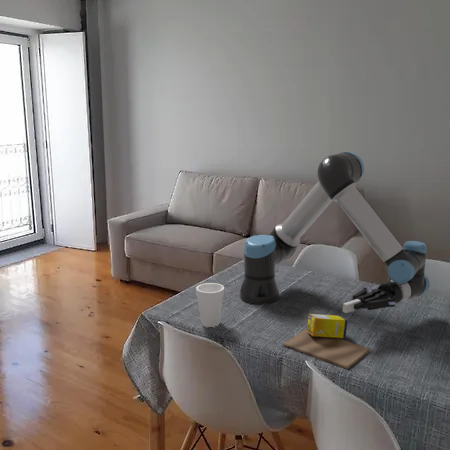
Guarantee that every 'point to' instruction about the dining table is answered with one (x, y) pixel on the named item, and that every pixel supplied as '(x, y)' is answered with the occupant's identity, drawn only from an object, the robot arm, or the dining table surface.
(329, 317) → the supplement box
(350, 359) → the brown flat board
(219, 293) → the foam cup
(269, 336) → the dining table surface
